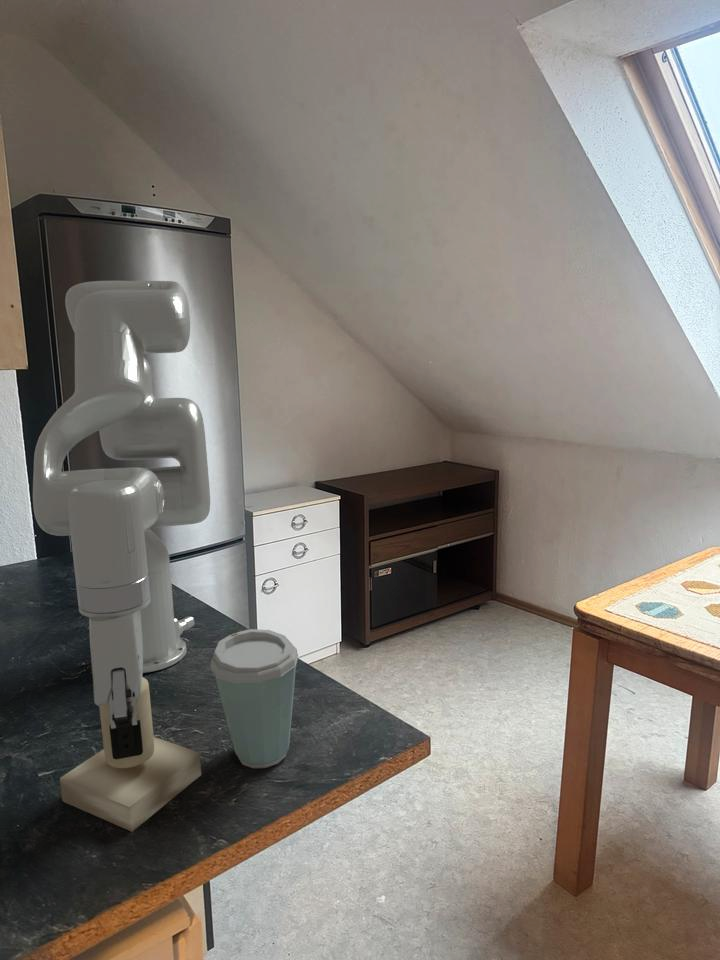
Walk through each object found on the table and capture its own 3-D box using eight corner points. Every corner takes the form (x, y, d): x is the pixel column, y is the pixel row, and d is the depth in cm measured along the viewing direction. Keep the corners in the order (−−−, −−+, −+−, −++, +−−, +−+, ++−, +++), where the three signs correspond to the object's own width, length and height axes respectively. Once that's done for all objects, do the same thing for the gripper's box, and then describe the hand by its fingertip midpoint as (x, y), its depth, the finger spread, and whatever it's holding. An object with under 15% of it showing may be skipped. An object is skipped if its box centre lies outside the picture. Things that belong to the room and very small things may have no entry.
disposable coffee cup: (320, 754, 87) (316, 643, 84) (249, 793, 80) (241, 674, 77) (270, 722, 95) (264, 619, 92) (201, 755, 88) (192, 645, 85)
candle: (164, 752, 81) (157, 673, 79) (122, 775, 77) (113, 692, 75) (137, 735, 85) (129, 659, 82) (95, 757, 80) (86, 677, 78)
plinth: (135, 750, 89) (133, 729, 88) (201, 774, 84) (199, 752, 83) (62, 801, 79) (59, 778, 79) (132, 831, 74) (129, 807, 74)
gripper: (84, 572, 84) (99, 709, 87) (69, 627, 68) (88, 792, 71) (149, 565, 86) (161, 699, 89) (149, 617, 70) (163, 778, 73)
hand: (128, 739), depth 80 cm, fingers closed on candle, 5 cm apart
